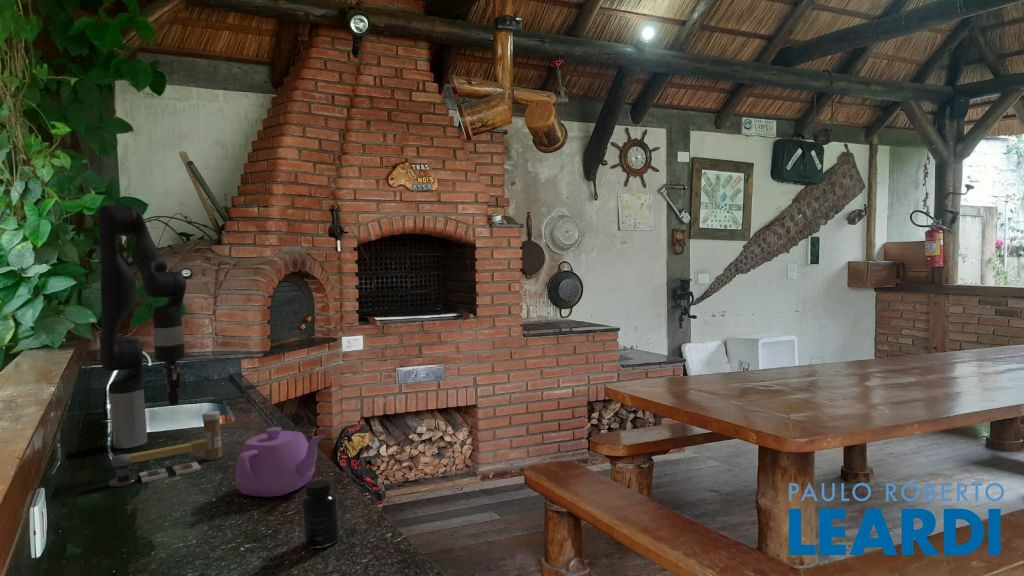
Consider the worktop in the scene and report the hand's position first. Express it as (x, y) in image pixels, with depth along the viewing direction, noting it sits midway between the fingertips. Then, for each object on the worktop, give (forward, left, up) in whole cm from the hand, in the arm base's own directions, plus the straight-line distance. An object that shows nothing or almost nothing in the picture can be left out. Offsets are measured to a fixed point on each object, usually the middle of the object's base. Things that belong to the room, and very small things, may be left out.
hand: (173, 403), depth 183 cm
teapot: (+41, +17, -17) cm, 48 cm away
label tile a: (+9, -7, -17) cm, 20 cm away
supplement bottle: (+78, +15, -17) cm, 81 cm away
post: (+9, -14, -17) cm, 24 cm away
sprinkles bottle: (+3, +9, -17) cm, 20 cm away
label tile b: (+9, +1, -17) cm, 19 cm away
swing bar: (+9, -5, -12) cm, 16 cm away
